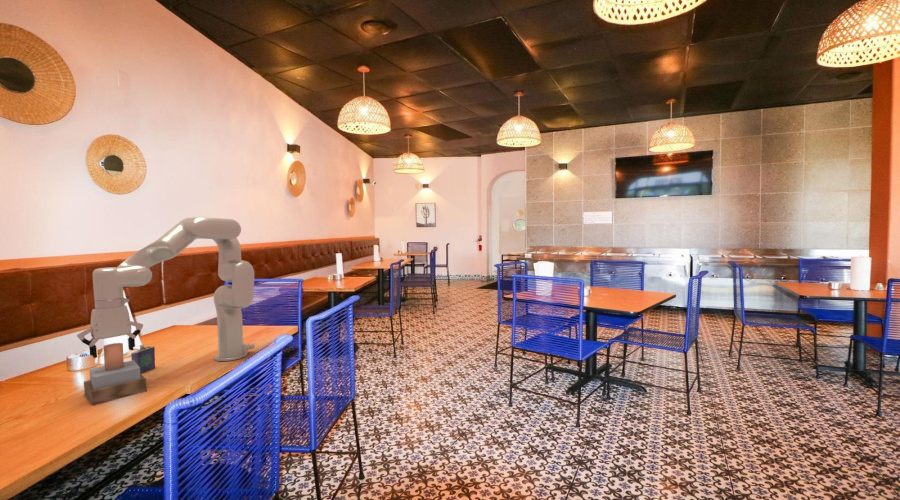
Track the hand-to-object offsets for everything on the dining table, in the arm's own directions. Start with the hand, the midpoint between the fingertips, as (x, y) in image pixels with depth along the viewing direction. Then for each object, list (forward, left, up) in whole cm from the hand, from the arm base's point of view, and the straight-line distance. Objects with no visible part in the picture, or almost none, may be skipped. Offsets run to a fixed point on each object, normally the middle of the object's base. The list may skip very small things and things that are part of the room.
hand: (113, 353), depth 135 cm
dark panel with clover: (-12, -17, -14) cm, 25 cm away
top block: (0, 0, -9) cm, 9 cm away
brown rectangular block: (0, 0, -5) cm, 5 cm away
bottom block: (0, +1, -14) cm, 14 cm away
